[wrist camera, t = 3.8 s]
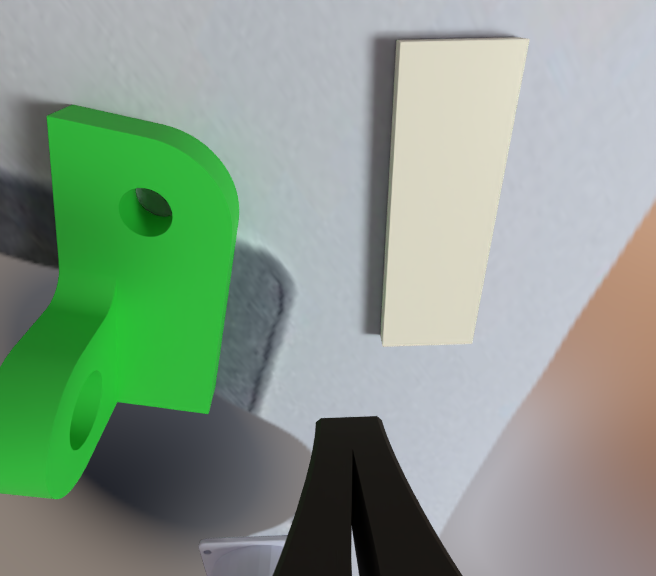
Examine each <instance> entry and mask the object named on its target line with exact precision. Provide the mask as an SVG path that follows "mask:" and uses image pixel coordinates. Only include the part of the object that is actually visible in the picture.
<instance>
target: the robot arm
mask: <svg viewBox="0 0 656 576" xmlns="http://www.w3.org/2000/svg"><path fill="white" fill-rule="evenodd" d="M351 530H352V531H353V538H354V544H355V551H356V557H357V564H358V570H359V576H462V574H461V573H460V571H459V570H458V568H457V566H456V565H455V563H454V562H453V560H452V559H451V557H450V555H449V554H448V552H447V551H446V549H445V548H444V546H443V544H442V542H441V541H440V539H439V537H438V536H437V534H436V532H435V531H434V529H433V527H432V525H431V524H430V522H429V520H428V519H427V517H426V515H425V513H424V511H423V509H422V508H421V506H420V504H419V502H418V500H417V498H416V496H415V495H414V493H413V491H412V489H411V487H410V485H409V483H408V481H407V479H406V477H405V475H404V473H403V471H402V469H401V467H400V465H399V463H398V460H397V458H396V456H395V454H394V452H393V449H392V447H391V445H390V442H389V440H388V437H387V434H386V432H385V429H384V426H383V423H382V420H381V419H380V418H378V417H377V416H370V417H343V418H321V419H319V420H318V421H317V422H316V429H315V438H314V445H313V450H312V455H311V460H310V464H309V468H308V472H307V476H306V480H305V483H304V487H303V490H302V493H301V497H300V500H299V504H298V507H297V510H296V513H295V516H294V519H293V522H292V525H291V528H290V530H289V533H288V535H287V536H262V537H248V536H243V537H218V538H203V539H201V540H200V542H199V551H200V554H201V557H202V561H203V564H204V567H205V571H206V574H207V576H352V567H351Z"/></svg>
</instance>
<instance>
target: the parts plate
mask: <svg viewBox="0 0 656 576" xmlns="http://www.w3.org/2000/svg"><path fill="white" fill-rule="evenodd" d="M528 45H529V39H526V38H521V37H512V38H465V39H419V40H396V58H395V76H394V94H393V113H392V131H391V149H390V168H389V186H388V205H387V223H386V241H385V260H384V278H383V297H382V315H381V333H380V336H381V341H382V346H383V347H387V346H417V345H447V344H472V341H473V336H474V330H475V325H476V320H477V314H478V309H479V304H480V299H481V293H482V288H483V283H484V277H485V272H486V267H487V262H488V256H489V251H490V246H491V240H492V235H493V230H494V225H495V219H496V214H497V209H498V203H499V198H500V193H501V187H502V182H503V177H504V172H505V166H506V161H507V156H508V150H509V145H510V140H511V135H512V129H513V124H514V119H515V113H516V108H517V103H518V98H519V92H520V87H521V82H522V76H523V71H524V66H525V60H526V55H527V50H528Z"/></svg>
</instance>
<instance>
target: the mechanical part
mask: <svg viewBox="0 0 656 576" xmlns="http://www.w3.org/2000/svg"><path fill="white" fill-rule="evenodd" d="M47 127H48V139H49V151H50V163H51V175H52V187H53V199H54V211H55V223H56V235H57V247H58V259H59V278H58V284H57V288H56V291H55V294H54V296H53V299H52V301H51V303H50V305H49V306H48V307H47V309H46V310H45V311H44V312H43V314H42V315H41V316H40V317H39V318H38V320H37V321H36V322H35V323H34V324H33V325H32V326H31V328H30V329H29V330H28V331H27V332H26V334H25V335H24V336H23V337H22V338H21V339H20V340H19V342H18V343H17V344H16V345H15V346H14V348H13V349H12V350H11V351H10V353H9V354H8V356H7V357H6V358H5V360H4V362H3V363H2V365H1V367H0V493H2V494H12V495H22V496H31V497H42V498H51V499H60V498H62V497H64V496H65V495H67V494H68V493H69V492H70V490H72V488H73V487H74V486H75V484H76V483H77V481H78V480H79V478H80V477H81V475H82V473H83V471H84V470H85V468H86V466H87V464H88V462H89V460H90V457H91V455H92V453H93V451H94V449H95V447H96V445H97V443H98V441H99V439H100V437H101V435H102V432H103V430H104V428H105V426H106V424H107V422H108V420H109V418H110V416H111V414H112V412H113V409H114V408H115V405H116V403H117V402H123V403H130V404H138V405H145V406H153V407H160V408H168V409H175V410H183V411H190V412H198V413H206V414H208V413H209V409H210V405H211V401H212V397H213V393H214V389H215V384H216V377H217V370H218V363H219V356H220V349H221V342H222V335H223V327H224V320H225V313H226V306H227V299H228V292H229V285H230V278H231V270H232V263H233V256H234V249H235V242H236V235H237V228H238V221H239V201H238V196H237V192H236V188H235V185H234V183H233V180H232V178H231V176H230V174H229V172H228V171H227V169H226V168H225V166H224V165H223V163H222V162H221V161H220V159H219V158H218V157H217V156H216V155H215V154H214V153H213V152H212V151H211V150H210V149H209V148H208V147H207V146H206V145H204V144H203V143H202V142H200V141H199V140H198V139H196V138H194V137H193V136H191V135H189V134H187V133H185V132H183V131H181V130H178V129H176V128H173V127H170V126H166V125H162V124H158V123H153V122H149V121H144V120H140V119H135V118H131V117H126V116H122V115H117V114H113V113H108V112H104V111H99V110H95V109H90V108H86V107H81V106H77V105H70V106H68V107H66V108H64V109H61V110H59V111H57V112H54V113H52V114H50V115H48V116H47ZM136 188H146V189H150V190H153V191H155V192H157V193H158V194H160V195H161V196H162V197H163V198H164V199H165V200H166V201H167V202H168V204H169V206H170V208H171V210H172V216H167V217H162V216H157V215H154V214H152V213H150V212H148V211H147V210H146V209H144V208H143V207H142V205H141V204H140V203H139V201H138V199H137V196H136Z"/></svg>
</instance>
